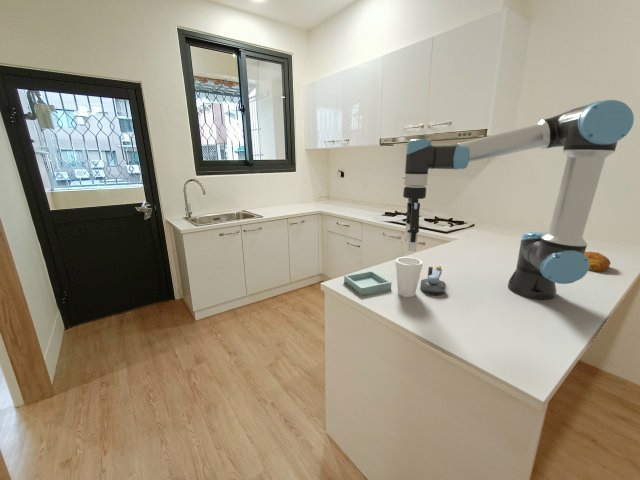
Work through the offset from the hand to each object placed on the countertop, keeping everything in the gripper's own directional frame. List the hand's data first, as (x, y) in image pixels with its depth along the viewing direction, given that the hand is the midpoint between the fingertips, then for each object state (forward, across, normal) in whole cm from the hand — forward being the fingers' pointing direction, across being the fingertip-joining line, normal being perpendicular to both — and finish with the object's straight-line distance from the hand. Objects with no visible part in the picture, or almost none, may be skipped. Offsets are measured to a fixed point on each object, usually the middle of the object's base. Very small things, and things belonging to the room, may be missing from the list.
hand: (410, 245), depth 108 cm
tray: (+19, -4, -15) cm, 24 cm away
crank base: (+19, -6, +10) cm, 22 cm away
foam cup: (+19, 0, 0) cm, 19 cm away
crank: (+15, -9, +12) cm, 21 cm away
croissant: (+19, -47, +87) cm, 100 cm away
